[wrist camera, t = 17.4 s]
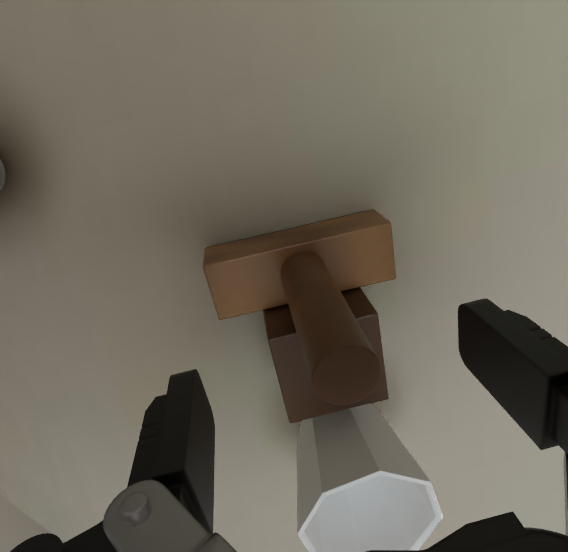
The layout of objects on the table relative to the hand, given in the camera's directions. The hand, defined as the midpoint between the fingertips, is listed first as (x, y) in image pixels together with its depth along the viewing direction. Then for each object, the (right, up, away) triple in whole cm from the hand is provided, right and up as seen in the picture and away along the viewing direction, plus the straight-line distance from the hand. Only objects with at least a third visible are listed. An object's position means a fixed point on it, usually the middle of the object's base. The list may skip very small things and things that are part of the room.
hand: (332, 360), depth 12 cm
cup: (+2, -7, +15) cm, 17 cm away
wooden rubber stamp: (-1, +4, +10) cm, 10 cm away
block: (0, 0, +11) cm, 11 cm away
